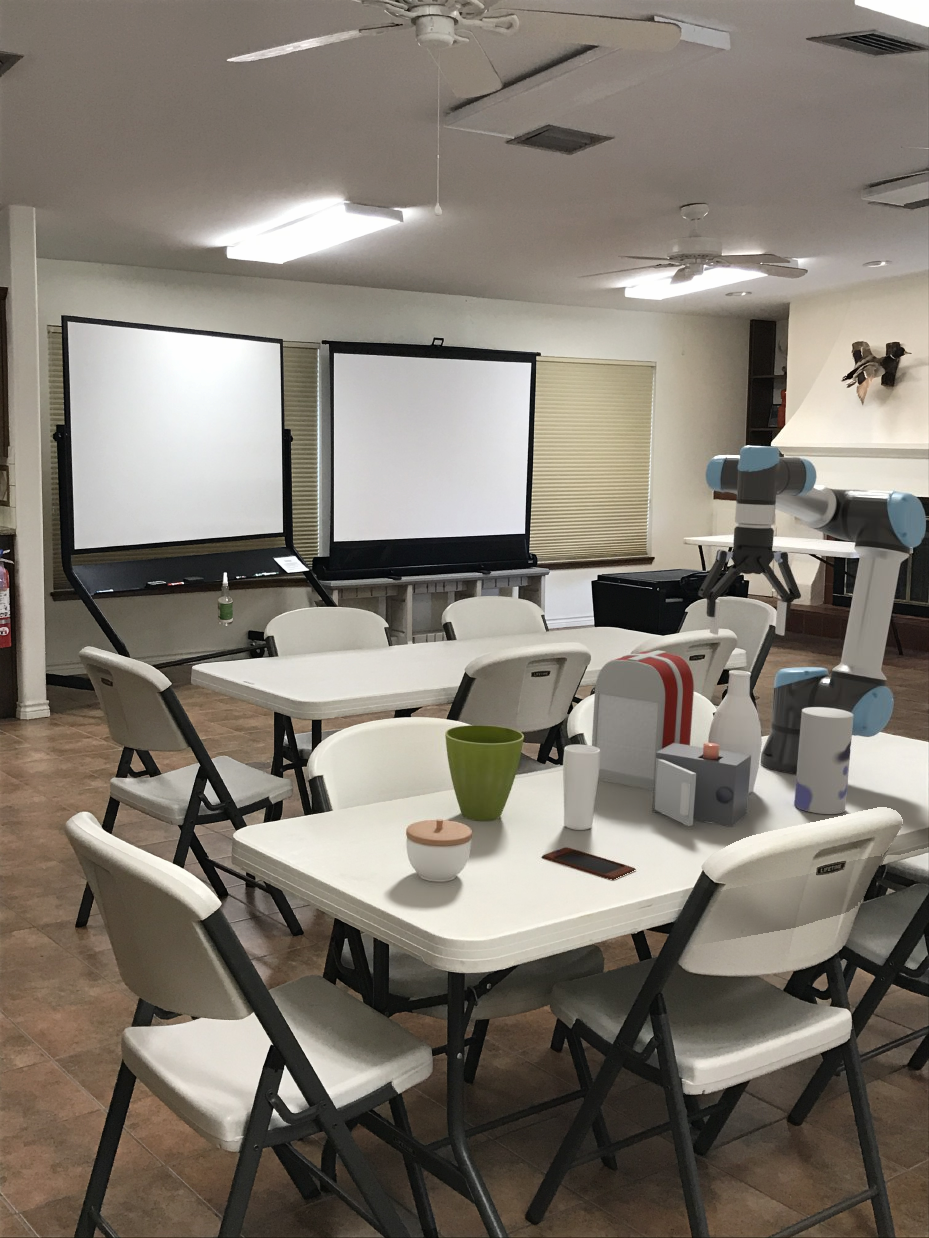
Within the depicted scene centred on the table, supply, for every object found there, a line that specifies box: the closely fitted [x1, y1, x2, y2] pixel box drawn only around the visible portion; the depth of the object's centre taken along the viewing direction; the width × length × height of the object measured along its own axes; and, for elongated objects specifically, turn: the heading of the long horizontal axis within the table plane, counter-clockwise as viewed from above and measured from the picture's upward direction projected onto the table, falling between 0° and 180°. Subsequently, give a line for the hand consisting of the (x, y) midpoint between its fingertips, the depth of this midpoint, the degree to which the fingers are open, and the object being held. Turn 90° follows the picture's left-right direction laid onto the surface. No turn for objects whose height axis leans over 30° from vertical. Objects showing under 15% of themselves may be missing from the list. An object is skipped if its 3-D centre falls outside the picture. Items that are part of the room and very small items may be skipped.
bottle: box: [707, 669, 763, 795], centre depth 252 cm, size 11×11×25 cm
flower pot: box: [444, 724, 525, 822], centre depth 226 cm, size 15×15×16 cm
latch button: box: [702, 742, 719, 759], centre depth 231 cm, size 3×3×2 cm
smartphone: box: [541, 846, 637, 881], centre depth 203 cm, size 7×1×15 cm
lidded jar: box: [405, 818, 473, 883], centre depth 193 cm, size 11×11×9 cm
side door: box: [652, 758, 696, 827], centre depth 228 cm, size 2×12×10 cm, turn 26°
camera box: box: [652, 743, 751, 828], centre depth 234 cm, size 11×16×12 cm
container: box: [793, 707, 854, 815], centre depth 241 cm, size 10×10×20 cm
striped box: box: [591, 649, 695, 792], centre depth 260 cm, size 17×18×27 cm
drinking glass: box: [562, 744, 600, 831], centre depth 222 cm, size 7×7×15 cm
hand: (746, 634), depth 234 cm, fingers open, 13 cm apart
